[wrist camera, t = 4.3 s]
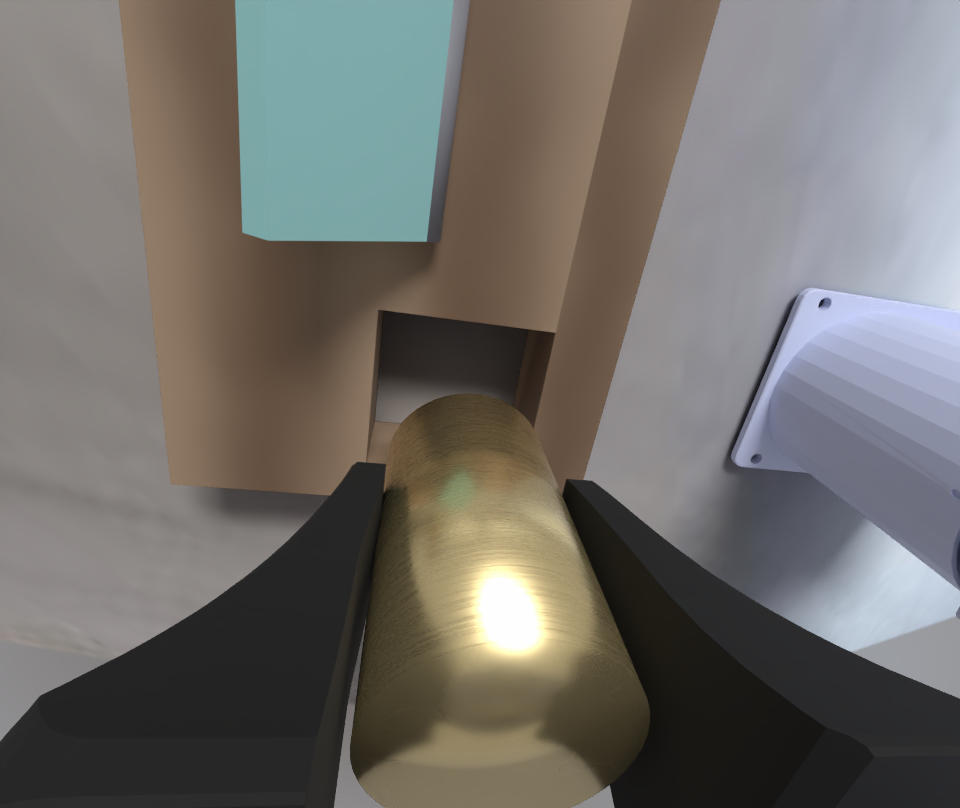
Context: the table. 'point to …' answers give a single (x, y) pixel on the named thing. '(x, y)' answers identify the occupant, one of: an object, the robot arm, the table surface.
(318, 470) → the block
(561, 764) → the peg
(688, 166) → the table surface
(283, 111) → the teal flat square block
